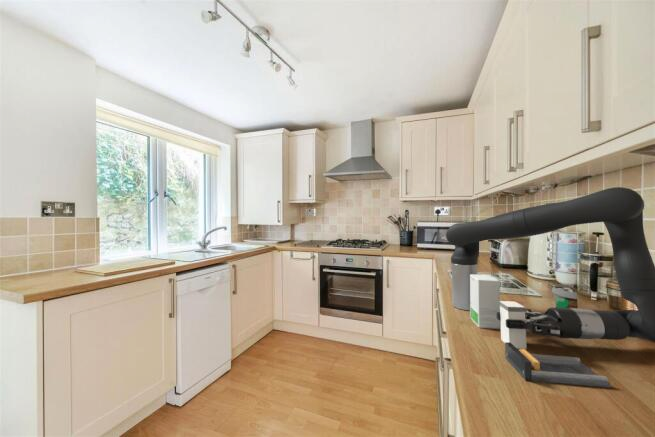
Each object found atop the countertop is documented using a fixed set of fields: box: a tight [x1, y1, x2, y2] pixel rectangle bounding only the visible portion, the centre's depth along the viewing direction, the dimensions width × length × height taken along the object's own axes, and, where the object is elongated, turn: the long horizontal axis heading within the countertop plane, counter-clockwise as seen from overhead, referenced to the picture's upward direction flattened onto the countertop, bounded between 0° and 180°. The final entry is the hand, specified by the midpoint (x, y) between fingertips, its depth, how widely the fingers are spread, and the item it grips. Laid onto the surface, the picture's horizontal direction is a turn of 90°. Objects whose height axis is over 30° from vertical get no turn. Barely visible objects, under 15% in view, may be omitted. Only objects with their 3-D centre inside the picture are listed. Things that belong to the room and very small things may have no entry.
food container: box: [551, 284, 579, 309], centre depth 90 cm, size 12×6×10 cm, turn 141°
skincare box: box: [469, 274, 501, 330], centre depth 85 cm, size 8×7×16 cm
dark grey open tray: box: [504, 342, 611, 389], centre depth 58 cm, size 9×15×4 cm, turn 78°
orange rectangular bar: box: [519, 349, 540, 371], centre depth 59 cm, size 6×1×2 cm, turn 168°
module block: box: [500, 300, 527, 350], centre depth 71 cm, size 5×4×11 cm
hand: (501, 319), depth 71 cm, fingers closed on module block, 5 cm apart
